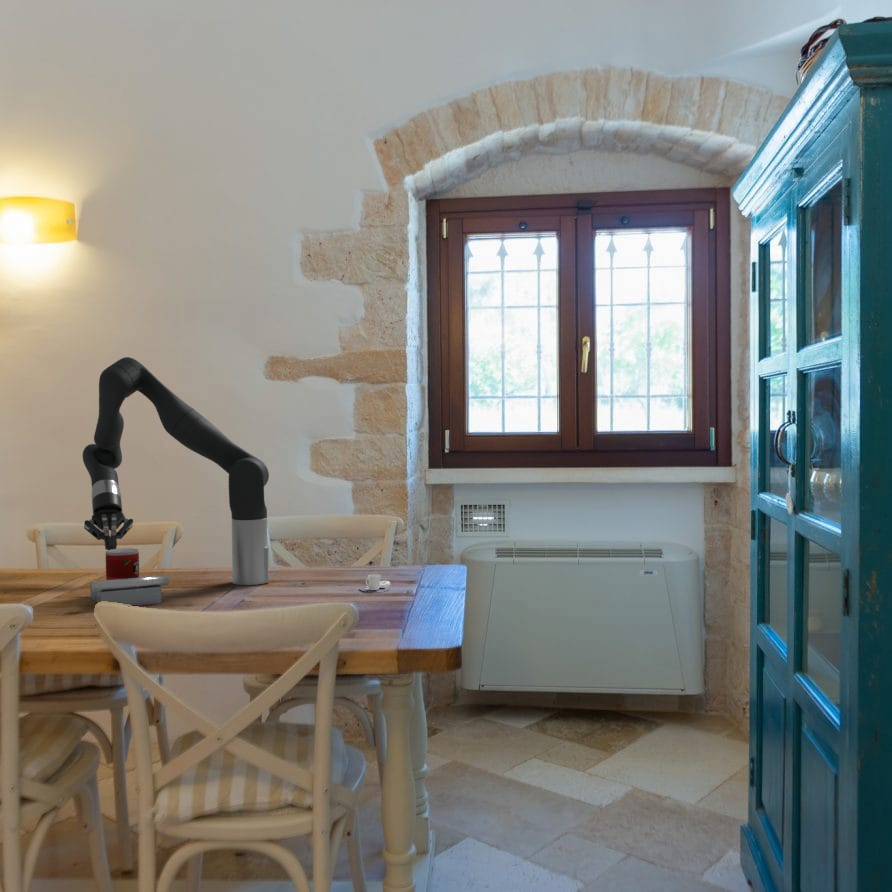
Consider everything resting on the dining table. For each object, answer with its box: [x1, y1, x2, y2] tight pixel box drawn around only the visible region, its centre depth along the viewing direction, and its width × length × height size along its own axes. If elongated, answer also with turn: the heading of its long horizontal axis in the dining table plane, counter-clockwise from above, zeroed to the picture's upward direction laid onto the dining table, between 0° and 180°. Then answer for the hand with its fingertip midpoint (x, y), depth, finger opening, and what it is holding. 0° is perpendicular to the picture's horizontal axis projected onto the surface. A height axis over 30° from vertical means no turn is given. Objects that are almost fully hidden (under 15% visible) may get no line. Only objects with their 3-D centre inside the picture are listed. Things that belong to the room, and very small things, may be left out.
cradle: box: [89, 574, 170, 606], centre depth 214 cm, size 17×14×6 cm
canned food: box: [105, 547, 140, 580], centre depth 222 cm, size 8×8×11 cm
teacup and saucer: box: [365, 573, 391, 590], centre depth 227 cm, size 9×8×4 cm
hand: (111, 549), depth 234 cm, fingers closed
